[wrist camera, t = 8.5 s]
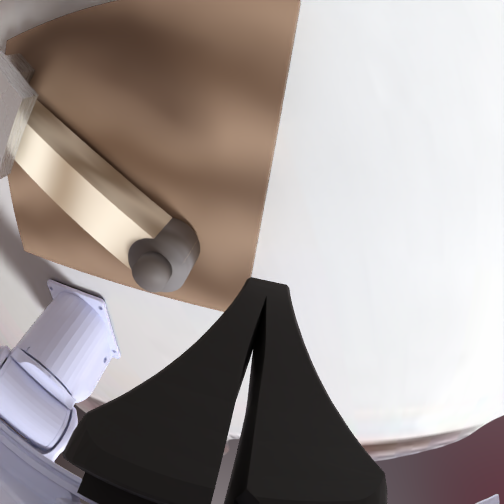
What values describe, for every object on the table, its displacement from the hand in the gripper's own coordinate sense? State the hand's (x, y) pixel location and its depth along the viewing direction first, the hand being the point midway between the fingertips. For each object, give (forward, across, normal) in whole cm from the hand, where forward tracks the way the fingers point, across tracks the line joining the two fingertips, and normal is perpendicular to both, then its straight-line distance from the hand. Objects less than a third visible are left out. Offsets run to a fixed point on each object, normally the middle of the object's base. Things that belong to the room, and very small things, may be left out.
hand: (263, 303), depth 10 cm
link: (+7, +11, 0) cm, 13 cm away
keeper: (+7, +18, -7) cm, 21 cm away
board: (+8, +12, -2) cm, 15 cm away
